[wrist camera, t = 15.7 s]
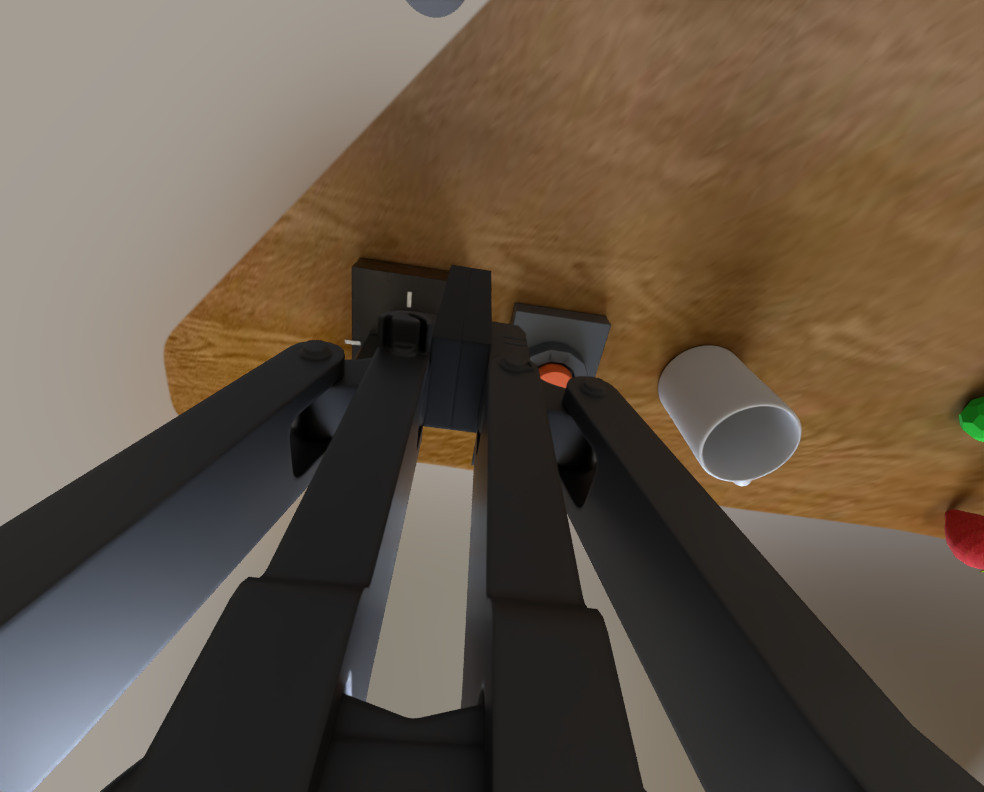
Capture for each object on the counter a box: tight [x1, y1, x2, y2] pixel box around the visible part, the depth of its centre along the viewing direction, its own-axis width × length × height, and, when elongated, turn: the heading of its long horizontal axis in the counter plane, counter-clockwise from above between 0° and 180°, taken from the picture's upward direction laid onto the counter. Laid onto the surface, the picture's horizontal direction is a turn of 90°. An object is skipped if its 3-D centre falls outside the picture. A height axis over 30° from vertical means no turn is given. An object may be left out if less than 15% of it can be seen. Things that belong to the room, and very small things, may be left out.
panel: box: [345, 258, 450, 360], centre depth 43 cm, size 14×11×3 cm
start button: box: [539, 363, 572, 388], centre depth 42 cm, size 4×4×2 cm
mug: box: [658, 345, 802, 486], centre depth 43 cm, size 12×8×11 cm
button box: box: [511, 303, 611, 378], centre depth 44 cm, size 12×9×4 cm
